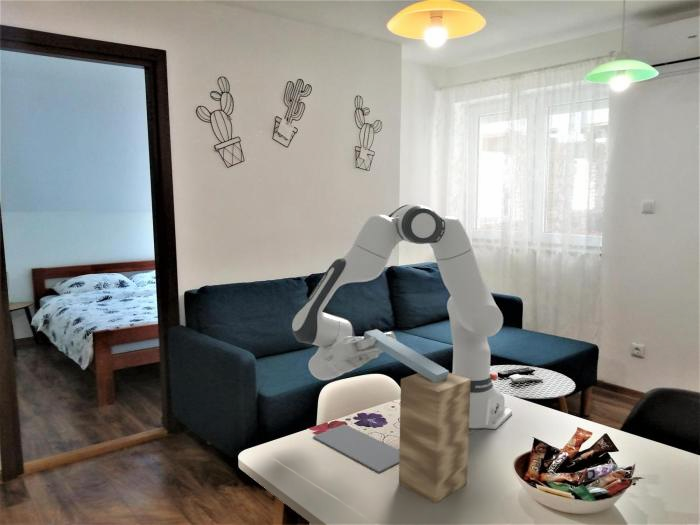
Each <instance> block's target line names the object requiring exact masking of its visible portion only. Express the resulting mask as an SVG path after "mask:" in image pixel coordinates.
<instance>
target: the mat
mask: <svg viewBox="0 0 700 525" xmlns="http://www.w3.org/2000/svg"><path fill="white" fill-rule="evenodd" d="M312 438H313V439H314V440H317V441H318V442H320V443H322V444H325V445H326V446H328V447H330V448H331V449H333V450H335V451H337V452H339V453H341V454H343V455H345V456H346V457H349V458H350V459H352V460H354V461H355V462H357V463H360V464H361V465H363V466H365V467H367V468H369V469H370V470H372V471H375V472H376V473H378V474H380V473H382V472H384V471H386V470H388V469H390V468H392V467H394V466H397V465H399V448H398V449H397V448H396V447H393V446H392V445H389V444H387V443H385V442H383V441H381V440H379V439H377V438H375V437H373V436H370V435H368V434H366V433H364V432H362V431H360V430H358V429H356V428H354V427H351V426H350V425H348V424H345V423H344V424H342V425H338V426H336V427H334V428H331V429H329V430H326V431H323V432H321V433H320V432H319V433H318V434H316V435H313V436H312Z"/></svg>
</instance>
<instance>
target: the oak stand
mask: <svg viewBox="0 0 700 525" xmlns="http://www.w3.org/2000/svg"><path fill="white" fill-rule="evenodd" d="M470 385H471V379H468V378H465V377H461V376H458V375H455V374H452V372H448V377H447V379H444V380H442V381H439V382H436V383H434V382H433V381H431V380H429V379H428V378H426V377H424V376H423V375H421V374H420V373H418V372H417V373H415V374H412V375H409V376H406V377H403V378H400V398H399V399H400V400H399V402H400V403H399V405H400V407H399V410H400V411H399V448H398V450H399V463H398V484H399V485H400V486H402V487H404V488H406V489H408V490H410V491H412V492H414V493H415V494H417V495H419V496H420V497H422V498H424V499H427V500H429V501H430V502H432V503H434V504H437V503H438V502H440V501H441V500H443V499H444V498H446V497H447V496H449V495H451V494H453V493H454V492H455V491H457V490H459V489H461V488H462V487H463V486H466V485H467V481H468V455H469V434H470V433H469V432H470V431H469V429H470V428H469V411H470Z"/></svg>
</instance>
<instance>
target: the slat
mask: <svg viewBox="0 0 700 525" xmlns="http://www.w3.org/2000/svg"><path fill="white" fill-rule="evenodd" d="M384 333H385V332H382V331H381V330H379V329H377V328H375V329H373V330H372V329H371V330H367V331H364V334H363V337H364V338H363V339H364V340H366V339H368V338H370V337H376V340H377V343H376V344H374V346H375V347H377V348H379V349H380V350H382V351H384V352H383V353H385V354H387V355H389V356H390V357H392V358H393V359H395V360H396V361H398V362H400V363H402V364H404V365H405V366H407V367H408V368H410V369H411V370H413V371H414V372H417V373H420V374H421V375H423V376H424V377H426V378H428V379H429V380H431V381H433V382H434V383H436V382H439V381H442V380H444V379H447V377H448V373H450V371H449V370H448V369H446V368H445V367H443V366H441V365H440V364H438V363H436V362H434V361H433V360H430V359H429V358H428V357H426V356H424V355H422V354H420V353H419V352H417V351H415V350H414V349H412V348H410V347H409V346H407V345H405V344H404V343H401V342H400V341H398V340H397V339H396V340H397V341H396V340H395V339H393V338H391V337H389V336H388V335H386V334H384Z"/></svg>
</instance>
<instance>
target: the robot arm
mask: <svg viewBox="0 0 700 525" xmlns="http://www.w3.org/2000/svg"><path fill="white" fill-rule="evenodd" d="M466 231H467V230H466V229H465V227H464V226H463V224H462V222H461V220H460V219H459V218H457V217H456V216H452V215H445V216H444V215H443V216H440V215H439V214H437V212H436V211H434V210H433V209H432V208H431V207H428V206H426V205H421V204H417V203H412V204H404V205H402V206H400V207H398V208H397V209H396V210H395V211H393V212H391V213H390V214H389V215H384V214H379V213H378V214H376V213H375V214H373V215H371V216H369V217H368V219H367V220H366V221H365V223H364V224H363V226H362V227H361V229H360V230H359V233H358V234H357V236H356V238H355V240H354V242H353V244H352V246H351V248H350V250H348V252H347V253H346V254H345V255H344V256H343V257H342V258H337V259H335V260H334V261H333V262H332V263H331V265H330V266H329V267H328V269H327V270H326V272H324V274H323V275H322V277H321V279H320V281H319V282H318V283H317V285H316V287H315V288H314V289H313V291H312V292H311V294H310V296H309V297H308V299H307V300H306V301H305V303H304V304H303V306H302V307H301V308H300V309H299V310H298V311H297V312H296V314H295V315H294V317H293V319H292V322H291V330H292V331H291V332H292V334H293V336H294V337H295V339H296V341H298V343H302V344H303V343H304V344H309V345H314V346H317V347H318V349H317V350H316V352H315V354H313V355H312V356H311V358H310V359H309V361H308V370H309V372H310V374H311V375H312V376H313V377H314V378H316V379H317V380H320V381H330V380H333V379H335V378H339V377H340V376H342V375H344V374H345V373H350V372H352V371H353V370H354V371H355V370H356V369H358V368H361V367H362V366H364V365H365V364H367V363H369V362H370V361H373V360H375V359H376V358H378V357H379V355H380V354H382V353H385V352H384V351H382V350H380V349H379V348H377V347H375V346H374V344H376V343H377V340H376V337H370V338H368V339H366V340H364V339H363V338H364V336H356V335H355V331H354V327H353V325H352V323H351V321H349V320H348V319H346V318H343V317H340V316H337V315H333V314H330V313H327V312H324V309H325V308H326V307H327V305H328V303H329V301H330V300H331V299H332V297H333V295H334V294H335V292H336V291H337V290H338V289H339V287H341V286H344V285H346V284H351V283H365V282H369V281H373V280H375V279H377V278H378V277H379V276H380V275H382V273H383V272H384V270H385V267H386V266H387V263H388V261H389V259H390V257H391V255H392V252H393V250H394V249H395V247H396V246H397V245H398V244H399V243H401V242H403V241H405V242H407V243H413V244H417V245H424V244H425V245H426V244H428V245H429V246H430V247H431V249H432V251H433V255H434V257H435V260H436V264H437V266H438V270H439V274H440V277H441V279H442V281H443V284H444V286H445V288H446V289H447V291H448V293H449V295H450V297H449V298H448V300H447V303H446V308H447V313H448V317H449V325H450V332H451V333H450V334H451V341H452V349H453V350H452V355H453V356H452V372H451V373H452V374H455V375H458V376H461V377H465V378H468V379H471V385H470V411H469V429H489V430H490V429H491V430H495V429H497V428H499V427H500V426H501V424H503V423H504V422H505V421H507V419H508V418H509V417H510V416H511V415H512V414H513V410H512V409H511V408H509V407H508V406H506V405H505V396H504V394H503V393H502V392H501V391H500V390H498V389H497V388H496V387H495V386H494V385H493V381H494V382H496V381H497V380H498V374H497V373H492V372H491V352H492V351H491V347H490V345H489V341H488V338H490V337H493V336H495V335H497V333H498V332H499V331H500V330H501V329H502V327H503V324H504V316H503V313H502V311H501V310H500V308H499V306H498V305H497V304H496V301H495V299H494V296H493V295H492V293H491V291H490V289H489V286H488V285H487V283H486V281H485V279H484V277H483V276H482V273H481V270H480V268H479V265H478V261H477V259H476V256H475V252H474V250H473V247H472V244H471V241H470V238H469V236H468V234H467V232H466ZM383 333H384V334H386V335H388V336H389V337H391V338H393V339H395V340H396V341H398V340H397V337H396V335H395V332H393V331H388V332H383Z"/></svg>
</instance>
